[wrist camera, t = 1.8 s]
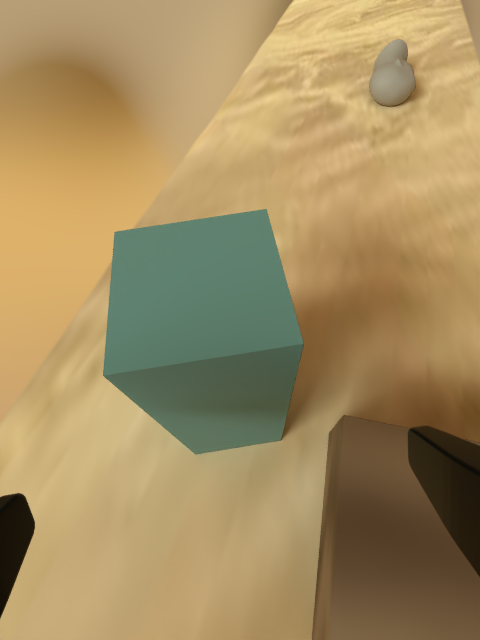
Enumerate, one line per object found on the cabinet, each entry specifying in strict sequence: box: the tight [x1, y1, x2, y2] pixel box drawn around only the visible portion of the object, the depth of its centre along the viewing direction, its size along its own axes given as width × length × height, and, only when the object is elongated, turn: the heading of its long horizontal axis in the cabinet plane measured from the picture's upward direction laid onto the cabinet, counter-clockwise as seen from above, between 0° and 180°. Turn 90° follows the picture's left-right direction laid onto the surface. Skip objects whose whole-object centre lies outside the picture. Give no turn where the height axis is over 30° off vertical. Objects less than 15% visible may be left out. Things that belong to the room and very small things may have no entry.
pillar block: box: [103, 209, 304, 454], centre depth 15 cm, size 5×5×12 cm
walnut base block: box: [312, 415, 480, 640], centre depth 14 cm, size 9×9×4 cm
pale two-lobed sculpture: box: [369, 39, 416, 106], centre depth 36 cm, size 4×8×5 cm
